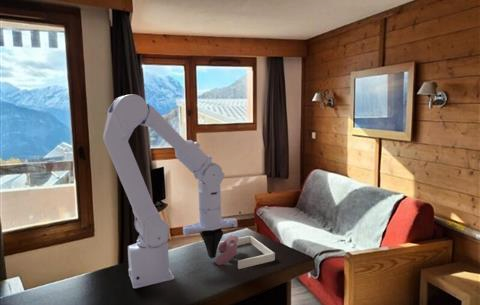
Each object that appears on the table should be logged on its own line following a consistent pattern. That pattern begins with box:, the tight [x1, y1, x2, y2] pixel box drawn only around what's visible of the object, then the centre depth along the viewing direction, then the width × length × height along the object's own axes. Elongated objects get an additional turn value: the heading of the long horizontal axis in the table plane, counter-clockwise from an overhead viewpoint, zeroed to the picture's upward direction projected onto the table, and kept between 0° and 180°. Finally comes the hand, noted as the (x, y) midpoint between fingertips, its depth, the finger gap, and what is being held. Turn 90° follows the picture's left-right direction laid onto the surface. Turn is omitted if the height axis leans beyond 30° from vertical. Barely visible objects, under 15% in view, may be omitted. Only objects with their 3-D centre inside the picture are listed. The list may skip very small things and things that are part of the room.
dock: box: [218, 235, 276, 270], centre depth 95 cm, size 11×14×2 cm
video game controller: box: [215, 234, 239, 266], centre depth 93 cm, size 10×5×7 cm, turn 179°
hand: (211, 256), depth 91 cm, fingers closed
